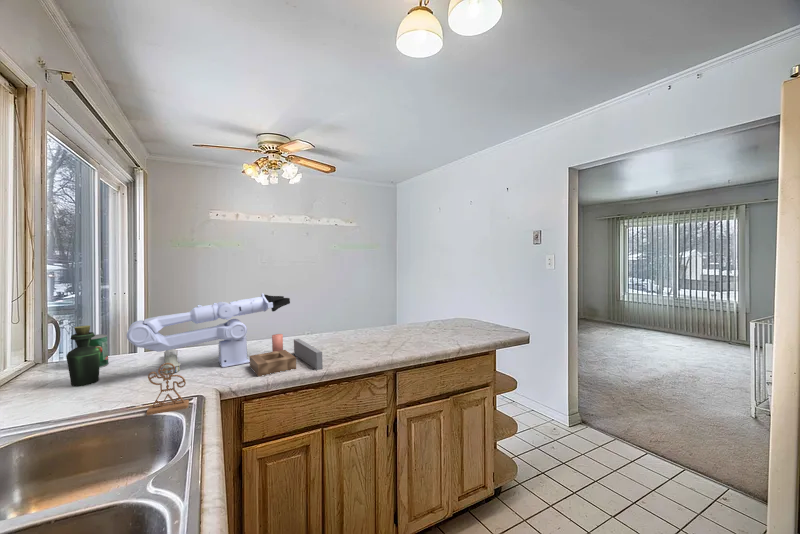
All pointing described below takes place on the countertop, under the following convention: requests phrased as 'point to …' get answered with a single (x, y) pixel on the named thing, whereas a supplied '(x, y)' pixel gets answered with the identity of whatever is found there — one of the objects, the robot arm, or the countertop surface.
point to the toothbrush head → (171, 360)
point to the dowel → (277, 342)
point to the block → (272, 362)
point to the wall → (308, 354)
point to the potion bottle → (83, 358)
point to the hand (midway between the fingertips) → (286, 299)
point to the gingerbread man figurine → (167, 406)
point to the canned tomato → (101, 347)
